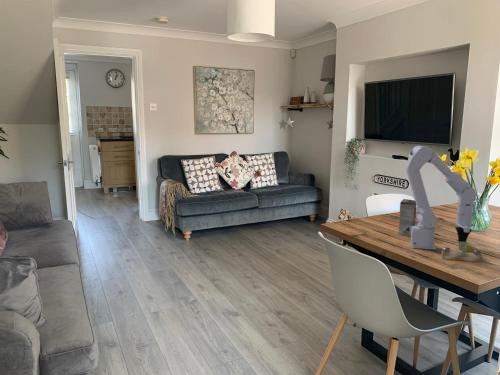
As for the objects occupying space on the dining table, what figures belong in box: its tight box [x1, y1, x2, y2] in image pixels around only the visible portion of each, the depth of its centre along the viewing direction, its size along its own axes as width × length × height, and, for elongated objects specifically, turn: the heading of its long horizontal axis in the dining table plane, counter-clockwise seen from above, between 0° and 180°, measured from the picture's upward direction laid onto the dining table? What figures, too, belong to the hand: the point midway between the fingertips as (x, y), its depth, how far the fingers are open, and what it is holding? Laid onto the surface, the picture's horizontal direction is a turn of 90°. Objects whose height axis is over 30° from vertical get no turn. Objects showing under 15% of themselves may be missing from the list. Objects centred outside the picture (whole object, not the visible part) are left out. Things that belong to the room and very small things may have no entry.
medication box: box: [458, 240, 482, 253], centre depth 160 cm, size 12×3×4 cm, turn 179°
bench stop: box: [441, 249, 483, 263], centre depth 154 cm, size 14×2×2 cm, turn 72°
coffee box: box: [398, 198, 417, 237], centre depth 189 cm, size 9×6×16 cm
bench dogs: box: [442, 246, 482, 255], centre depth 154 cm, size 13×2×4 cm, turn 72°
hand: (461, 244), depth 168 cm, fingers closed
